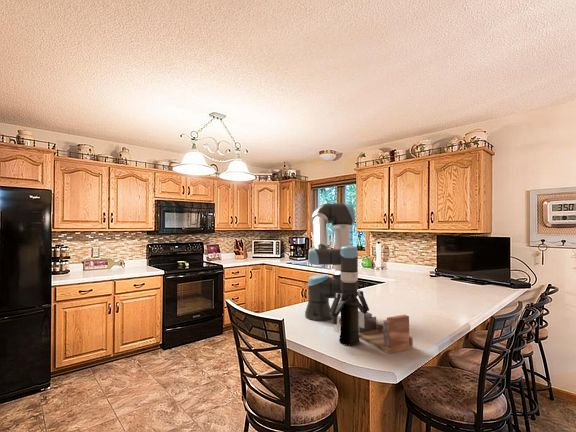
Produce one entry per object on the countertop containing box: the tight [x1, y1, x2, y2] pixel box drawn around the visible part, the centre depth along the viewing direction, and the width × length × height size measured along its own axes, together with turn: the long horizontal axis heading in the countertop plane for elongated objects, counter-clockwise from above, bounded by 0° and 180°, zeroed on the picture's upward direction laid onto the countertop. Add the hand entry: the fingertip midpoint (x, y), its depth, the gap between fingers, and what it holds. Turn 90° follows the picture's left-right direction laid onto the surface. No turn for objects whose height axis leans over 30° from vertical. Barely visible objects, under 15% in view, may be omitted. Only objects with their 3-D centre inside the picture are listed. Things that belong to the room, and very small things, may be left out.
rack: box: [359, 314, 414, 355], centre depth 138 cm, size 23×13×14 cm, turn 26°
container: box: [338, 301, 361, 347], centre depth 137 cm, size 9×9×18 cm
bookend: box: [358, 310, 377, 333], centre depth 149 cm, size 7×10×8 cm
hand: (349, 329), depth 137 cm, fingers open, 13 cm apart
